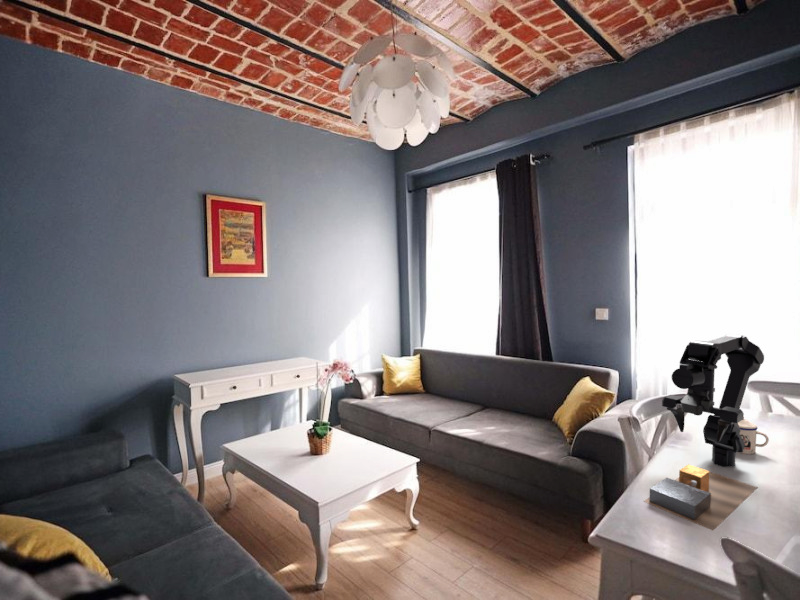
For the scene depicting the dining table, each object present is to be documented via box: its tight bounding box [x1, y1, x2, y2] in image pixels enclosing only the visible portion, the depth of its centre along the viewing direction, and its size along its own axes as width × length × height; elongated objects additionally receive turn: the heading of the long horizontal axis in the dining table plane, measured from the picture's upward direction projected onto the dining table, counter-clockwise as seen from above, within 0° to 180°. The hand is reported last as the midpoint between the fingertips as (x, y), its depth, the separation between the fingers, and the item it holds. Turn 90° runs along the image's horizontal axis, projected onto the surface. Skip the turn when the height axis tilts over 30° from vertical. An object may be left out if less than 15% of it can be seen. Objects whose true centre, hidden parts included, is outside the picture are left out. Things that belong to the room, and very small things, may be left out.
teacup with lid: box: [737, 416, 770, 455], centre depth 140 cm, size 12×9×12 cm
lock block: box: [678, 463, 711, 491], centre depth 112 cm, size 6×5×5 cm
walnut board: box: [643, 471, 759, 531], centre depth 110 cm, size 33×15×1 cm, turn 125°
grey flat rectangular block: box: [649, 477, 711, 520], centre depth 108 cm, size 22×10×4 cm, turn 125°
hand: (699, 436), depth 121 cm, fingers open, 9 cm apart
